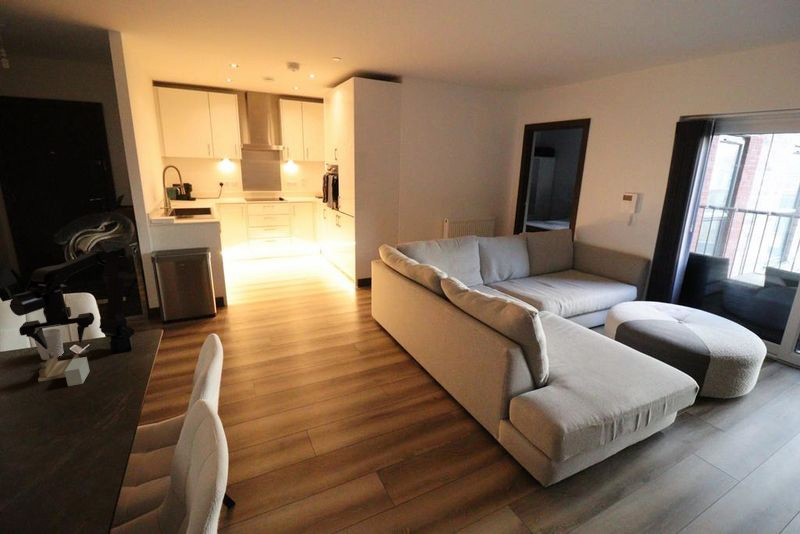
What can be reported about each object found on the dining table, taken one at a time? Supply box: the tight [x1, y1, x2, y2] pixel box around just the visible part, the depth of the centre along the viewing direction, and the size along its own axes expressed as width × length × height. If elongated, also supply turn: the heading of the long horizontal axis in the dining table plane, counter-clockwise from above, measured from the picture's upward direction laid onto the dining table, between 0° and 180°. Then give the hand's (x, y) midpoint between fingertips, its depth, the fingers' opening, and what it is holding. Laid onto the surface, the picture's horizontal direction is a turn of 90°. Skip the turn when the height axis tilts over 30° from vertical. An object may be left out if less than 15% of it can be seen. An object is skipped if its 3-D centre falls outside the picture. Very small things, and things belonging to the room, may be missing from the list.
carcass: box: [37, 352, 84, 383], centre depth 137 cm, size 10×12×6 cm
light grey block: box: [64, 356, 91, 387], centre depth 133 cm, size 4×9×6 cm, turn 26°
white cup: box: [33, 328, 65, 361], centre depth 147 cm, size 8×8×10 cm
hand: (64, 345), depth 131 cm, fingers open, 9 cm apart
